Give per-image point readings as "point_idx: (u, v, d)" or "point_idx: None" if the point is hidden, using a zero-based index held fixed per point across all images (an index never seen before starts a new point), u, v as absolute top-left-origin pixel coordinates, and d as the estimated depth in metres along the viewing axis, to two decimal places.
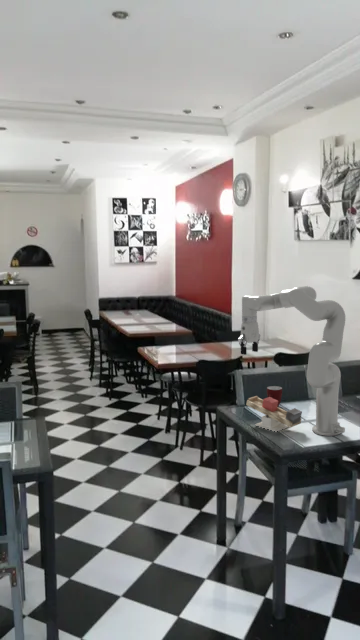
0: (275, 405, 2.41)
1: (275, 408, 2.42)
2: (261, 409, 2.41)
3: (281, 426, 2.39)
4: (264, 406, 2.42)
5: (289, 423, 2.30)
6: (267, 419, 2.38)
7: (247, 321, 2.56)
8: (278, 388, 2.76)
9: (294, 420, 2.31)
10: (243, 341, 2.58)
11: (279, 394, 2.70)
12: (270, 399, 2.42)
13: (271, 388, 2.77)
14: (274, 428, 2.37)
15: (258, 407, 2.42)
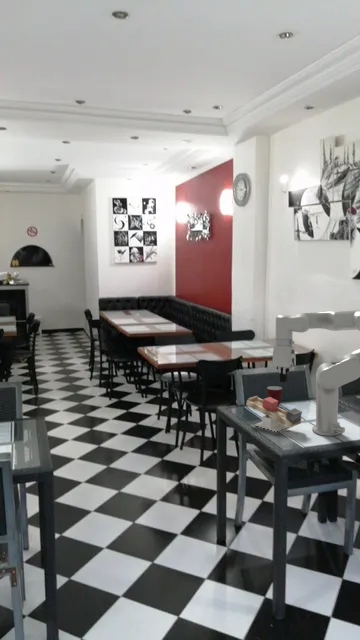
0: (275, 405, 2.41)
1: (275, 408, 2.42)
2: (261, 409, 2.41)
3: (281, 426, 2.39)
4: (264, 406, 2.42)
5: (289, 423, 2.30)
6: (267, 419, 2.38)
7: (292, 343, 2.32)
8: (278, 388, 2.76)
9: (294, 420, 2.31)
10: (287, 368, 2.33)
11: (279, 394, 2.70)
12: (270, 399, 2.42)
13: (271, 388, 2.77)
14: (274, 428, 2.37)
15: (258, 407, 2.42)
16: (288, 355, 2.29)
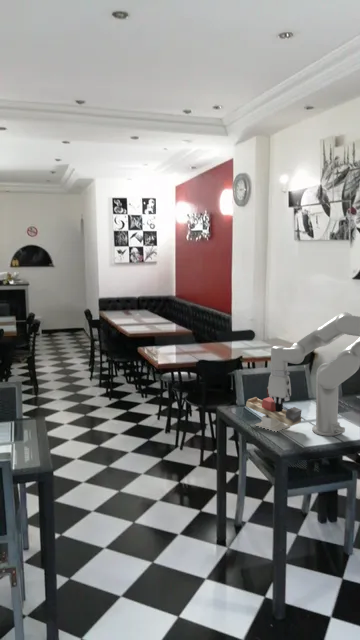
0: None
1: None
2: (261, 409, 2.41)
3: (281, 426, 2.39)
4: (264, 406, 2.42)
5: (289, 422, 2.30)
6: (267, 419, 2.38)
7: None
8: None
9: (294, 419, 2.31)
10: (282, 398, 2.36)
11: None
12: (269, 399, 2.42)
13: None
14: (274, 428, 2.37)
15: (258, 408, 2.43)
16: (283, 386, 2.33)
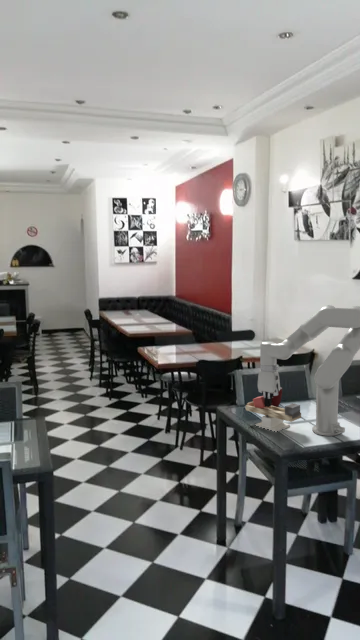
0: None
1: None
2: (260, 410, 2.42)
3: (281, 426, 2.39)
4: (256, 405, 2.45)
5: (289, 417, 2.30)
6: (267, 419, 2.38)
7: (276, 369, 2.39)
8: None
9: (294, 414, 2.31)
10: (271, 393, 2.41)
11: (279, 394, 2.70)
12: (259, 397, 2.47)
13: None
14: (274, 428, 2.37)
15: (257, 409, 2.43)
16: (272, 381, 2.37)
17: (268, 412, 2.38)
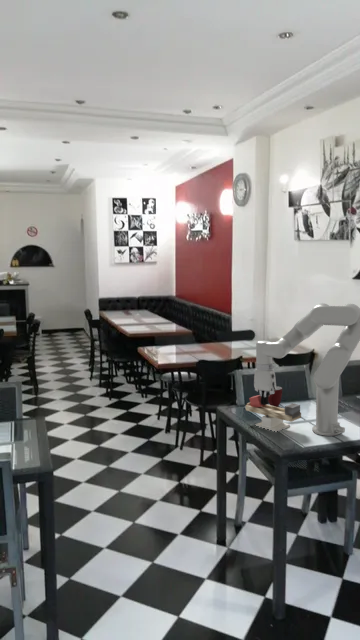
0: None
1: None
2: (260, 410, 2.42)
3: (281, 426, 2.39)
4: (253, 404, 2.46)
5: (289, 417, 2.30)
6: (267, 419, 2.38)
7: None
8: (278, 388, 2.76)
9: (294, 414, 2.31)
10: None
11: (279, 394, 2.70)
12: (255, 396, 2.48)
13: None
14: (274, 428, 2.37)
15: (257, 409, 2.43)
16: (268, 379, 2.39)
17: (268, 412, 2.38)
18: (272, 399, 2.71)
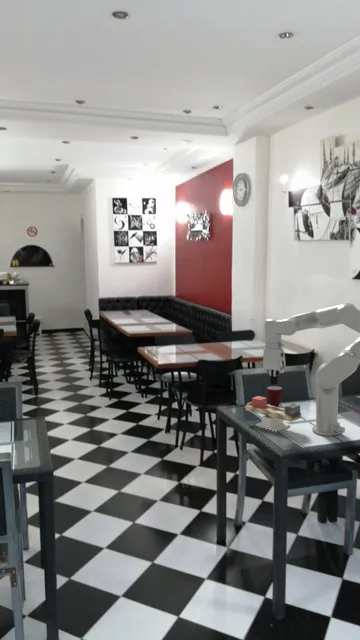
0: (264, 402, 2.46)
1: (265, 405, 2.46)
2: (260, 410, 2.42)
3: (281, 426, 2.39)
4: (254, 405, 2.46)
5: (289, 417, 2.30)
6: (267, 419, 2.38)
7: (281, 346, 2.36)
8: (278, 388, 2.76)
9: (294, 414, 2.31)
10: (277, 371, 2.37)
11: (279, 394, 2.70)
12: (258, 397, 2.47)
13: (271, 388, 2.77)
14: (274, 428, 2.37)
15: (257, 409, 2.43)
16: (278, 358, 2.34)
17: (268, 412, 2.38)
18: (272, 399, 2.71)
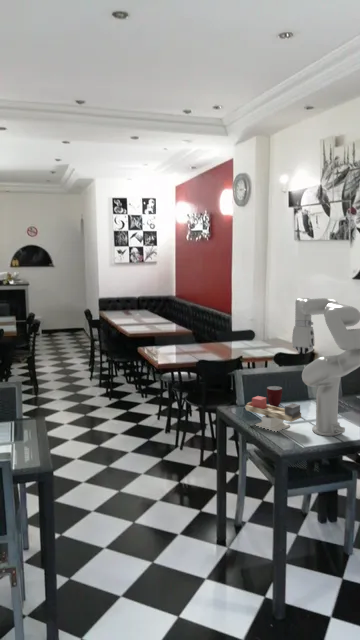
0: (264, 402, 2.46)
1: (265, 405, 2.46)
2: (260, 410, 2.42)
3: (281, 426, 2.39)
4: (254, 405, 2.46)
5: (289, 417, 2.30)
6: (267, 419, 2.38)
7: (311, 324, 2.45)
8: (278, 388, 2.76)
9: (294, 414, 2.31)
10: None
11: (279, 394, 2.70)
12: (258, 397, 2.47)
13: (271, 388, 2.77)
14: (274, 428, 2.37)
15: (257, 409, 2.43)
16: (307, 335, 2.43)
17: (268, 412, 2.38)
18: (272, 399, 2.71)
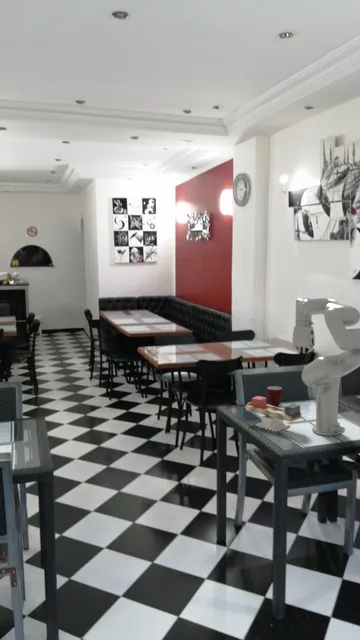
0: (264, 402, 2.46)
1: (265, 405, 2.46)
2: (260, 410, 2.42)
3: (281, 426, 2.39)
4: (254, 405, 2.46)
5: (289, 417, 2.30)
6: (267, 419, 2.38)
7: None
8: (278, 388, 2.76)
9: (294, 414, 2.31)
10: None
11: (279, 394, 2.70)
12: (258, 397, 2.47)
13: (271, 388, 2.77)
14: (274, 428, 2.37)
15: (257, 409, 2.43)
16: (308, 335, 2.43)
17: (268, 412, 2.38)
18: (272, 399, 2.71)
